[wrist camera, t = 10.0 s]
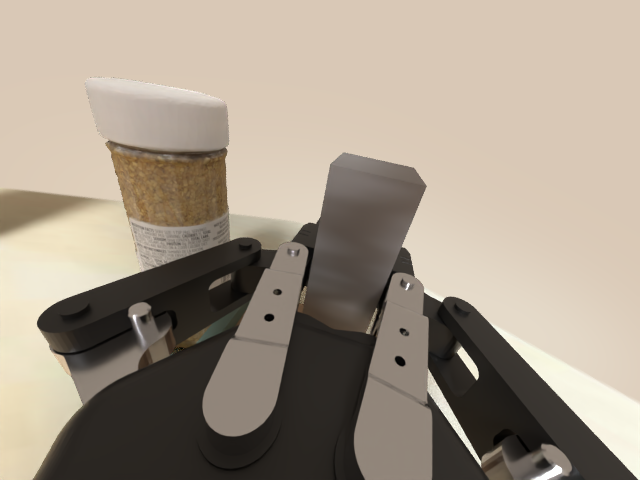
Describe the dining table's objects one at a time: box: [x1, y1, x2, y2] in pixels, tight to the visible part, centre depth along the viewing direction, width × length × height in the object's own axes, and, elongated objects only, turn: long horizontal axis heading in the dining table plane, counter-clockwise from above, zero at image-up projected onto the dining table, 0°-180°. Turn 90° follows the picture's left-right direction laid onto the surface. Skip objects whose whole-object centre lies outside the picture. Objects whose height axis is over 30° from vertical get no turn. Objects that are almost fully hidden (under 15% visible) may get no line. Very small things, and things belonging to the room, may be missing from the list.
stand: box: [171, 153, 426, 355], centre depth 12 cm, size 16×9×12 cm, turn 76°
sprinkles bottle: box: [85, 77, 231, 348], centre depth 12 cm, size 5×5×14 cm
